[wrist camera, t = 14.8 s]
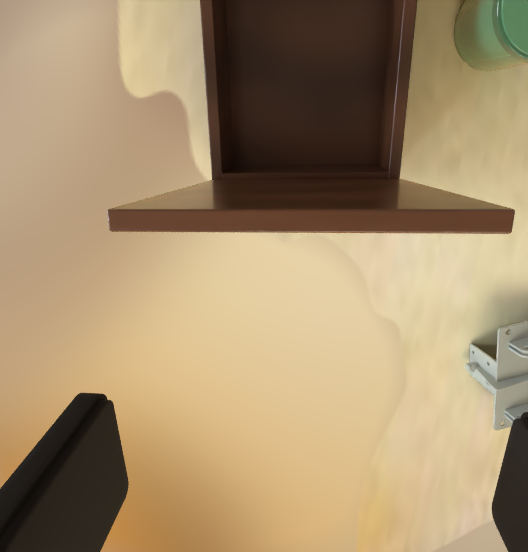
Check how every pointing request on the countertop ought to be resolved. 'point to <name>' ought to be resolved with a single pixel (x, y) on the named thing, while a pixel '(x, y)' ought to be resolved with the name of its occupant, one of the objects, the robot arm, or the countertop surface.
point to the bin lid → (312, 208)
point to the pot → (492, 33)
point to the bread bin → (307, 87)
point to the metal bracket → (504, 373)
